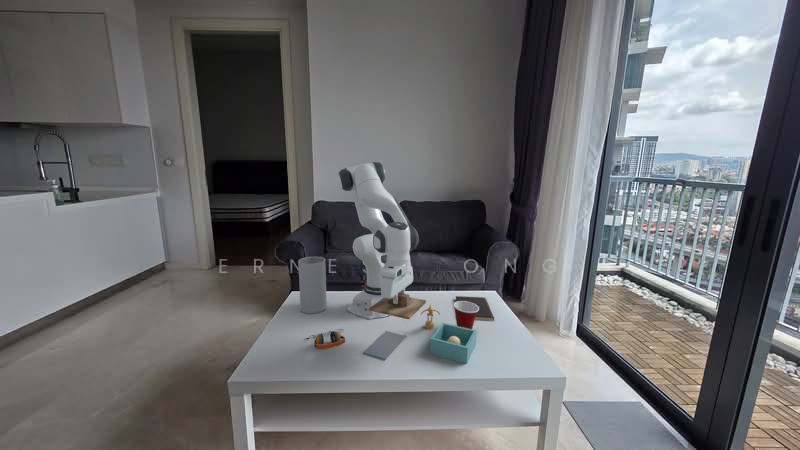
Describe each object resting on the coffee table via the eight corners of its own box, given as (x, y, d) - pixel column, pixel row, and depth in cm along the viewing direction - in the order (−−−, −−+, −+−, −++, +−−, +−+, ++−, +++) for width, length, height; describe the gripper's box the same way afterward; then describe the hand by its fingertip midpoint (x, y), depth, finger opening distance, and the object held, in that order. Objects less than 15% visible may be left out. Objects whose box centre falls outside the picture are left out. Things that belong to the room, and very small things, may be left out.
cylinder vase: (327, 302, 167) (326, 256, 163) (325, 313, 155) (323, 263, 151) (302, 304, 166) (300, 256, 161) (298, 315, 154) (296, 264, 149)
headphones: (341, 322, 141) (354, 333, 123) (342, 334, 141) (355, 347, 123) (301, 330, 134) (309, 343, 116) (302, 343, 134) (310, 358, 116)
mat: (363, 353, 122) (363, 352, 122) (386, 332, 138) (386, 330, 138) (411, 368, 114) (411, 366, 114) (430, 343, 130) (430, 342, 130)
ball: (445, 350, 123) (445, 338, 122) (449, 344, 128) (449, 332, 127) (458, 353, 121) (458, 341, 120) (461, 347, 125) (462, 335, 125)
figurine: (438, 326, 143) (439, 301, 141) (440, 333, 137) (441, 307, 135) (419, 326, 143) (420, 301, 141) (420, 333, 137) (421, 307, 135)
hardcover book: (459, 320, 151) (459, 315, 151) (455, 300, 174) (455, 296, 173) (494, 321, 150) (494, 317, 149) (485, 301, 172) (485, 297, 172)
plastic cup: (478, 339, 133) (479, 312, 131) (451, 336, 135) (452, 309, 133) (477, 326, 144) (479, 301, 142) (452, 324, 146) (453, 299, 144)
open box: (429, 355, 121) (430, 338, 120) (442, 338, 134) (442, 322, 132) (466, 366, 115) (467, 348, 114) (475, 346, 128) (476, 330, 126)
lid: (369, 310, 119) (369, 297, 118) (389, 295, 133) (389, 284, 133) (408, 319, 112) (408, 305, 111) (425, 302, 126) (426, 290, 126)
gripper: (402, 258, 131) (402, 290, 133) (377, 272, 113) (377, 310, 115) (417, 260, 128) (416, 293, 130) (393, 275, 110) (393, 313, 112)
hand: (398, 301), depth 122 cm, fingers closed on lid, 2 cm apart
